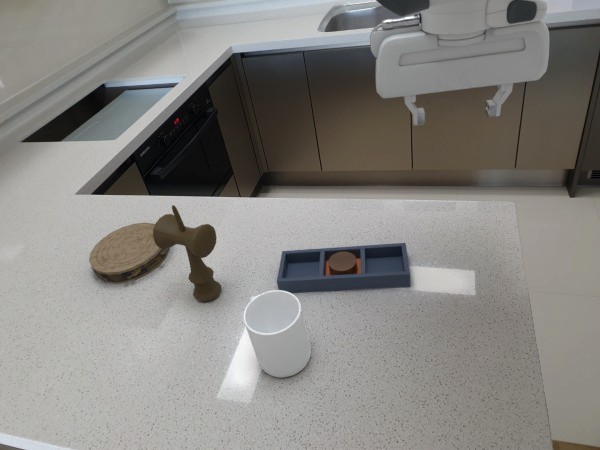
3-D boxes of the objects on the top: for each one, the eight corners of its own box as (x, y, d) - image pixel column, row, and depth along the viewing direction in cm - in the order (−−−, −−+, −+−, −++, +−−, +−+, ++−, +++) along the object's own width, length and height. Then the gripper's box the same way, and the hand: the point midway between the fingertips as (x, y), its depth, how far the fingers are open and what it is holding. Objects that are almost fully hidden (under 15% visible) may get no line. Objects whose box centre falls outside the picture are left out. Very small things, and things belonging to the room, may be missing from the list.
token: (357, 280, 80) (356, 269, 79) (329, 281, 81) (327, 271, 80) (357, 260, 84) (356, 250, 83) (330, 262, 85) (328, 252, 83)
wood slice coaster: (113, 295, 89) (107, 284, 87) (84, 261, 99) (77, 251, 97) (183, 251, 96) (178, 240, 94) (148, 224, 107) (144, 214, 105)
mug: (238, 339, 75) (221, 295, 69) (280, 313, 78) (268, 269, 72) (276, 390, 66) (261, 345, 60) (322, 358, 69) (312, 312, 63)
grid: (410, 286, 78) (410, 274, 76) (279, 293, 82) (276, 281, 80) (405, 255, 84) (405, 242, 82) (285, 262, 88) (282, 250, 86)
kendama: (198, 276, 89) (163, 190, 77) (238, 288, 85) (207, 199, 73) (178, 297, 85) (138, 211, 73) (219, 311, 81) (183, 221, 69)
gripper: (369, 29, 52) (377, 138, 60) (563, 0, 49) (543, 120, 57) (367, 15, 57) (375, 118, 65) (544, -12, 54) (528, 100, 62)
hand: (455, 119), depth 61 cm, fingers open, 8 cm apart
